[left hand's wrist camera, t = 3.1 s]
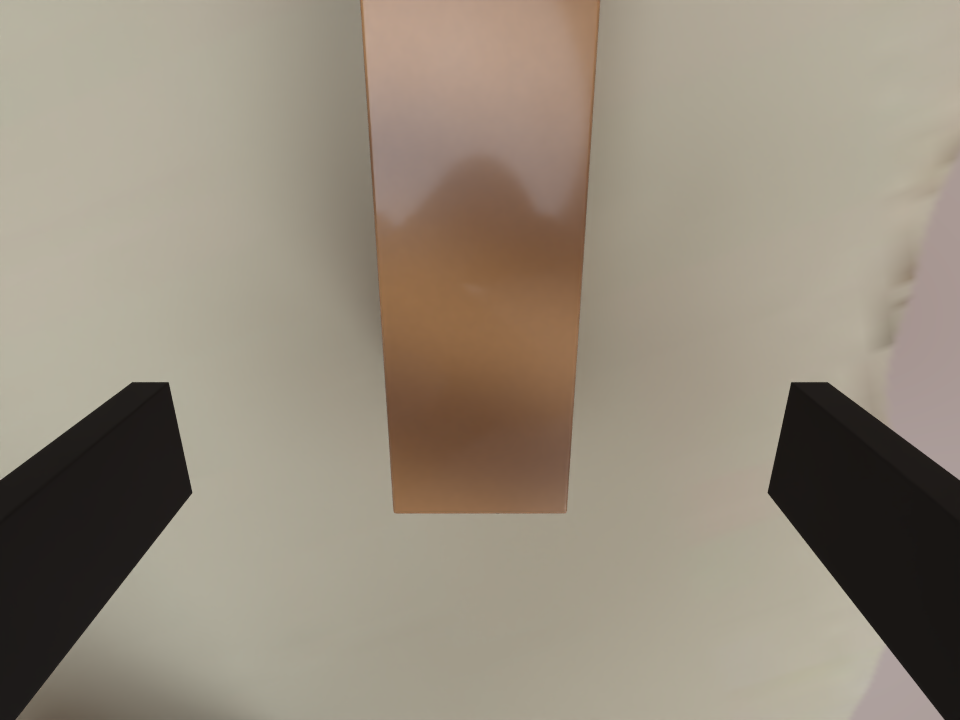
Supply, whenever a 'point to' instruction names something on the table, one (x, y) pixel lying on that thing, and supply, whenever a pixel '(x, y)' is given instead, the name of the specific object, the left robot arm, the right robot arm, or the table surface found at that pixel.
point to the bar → (480, 242)
